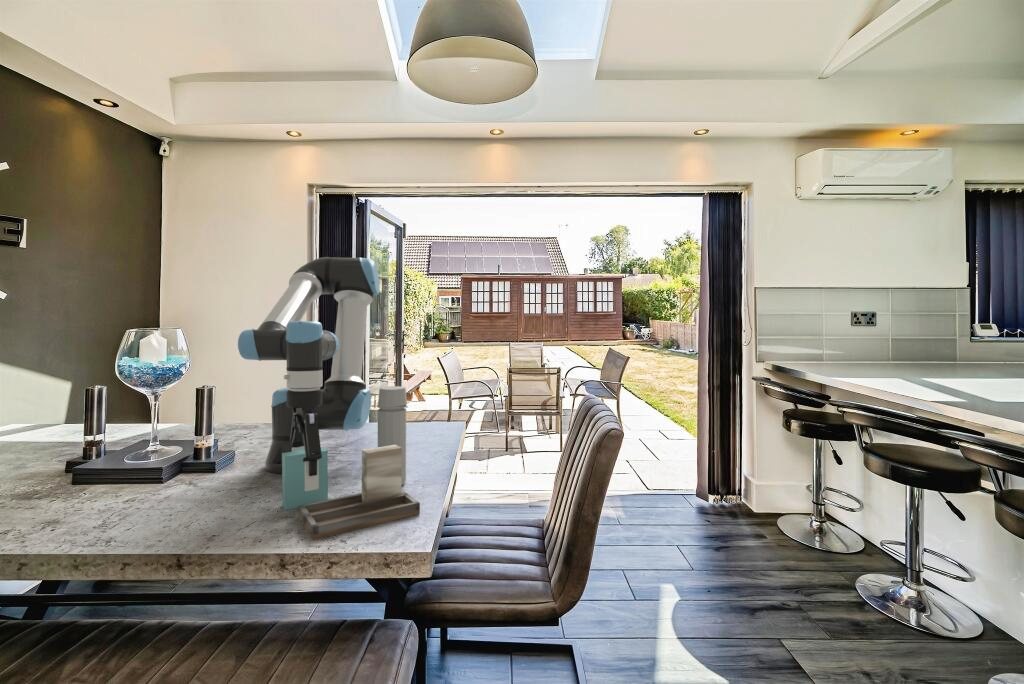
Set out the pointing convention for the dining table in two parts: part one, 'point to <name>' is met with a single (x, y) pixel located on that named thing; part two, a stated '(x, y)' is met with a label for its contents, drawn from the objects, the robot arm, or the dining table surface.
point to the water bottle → (393, 421)
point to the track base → (364, 498)
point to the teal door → (302, 480)
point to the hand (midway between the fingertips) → (304, 481)
